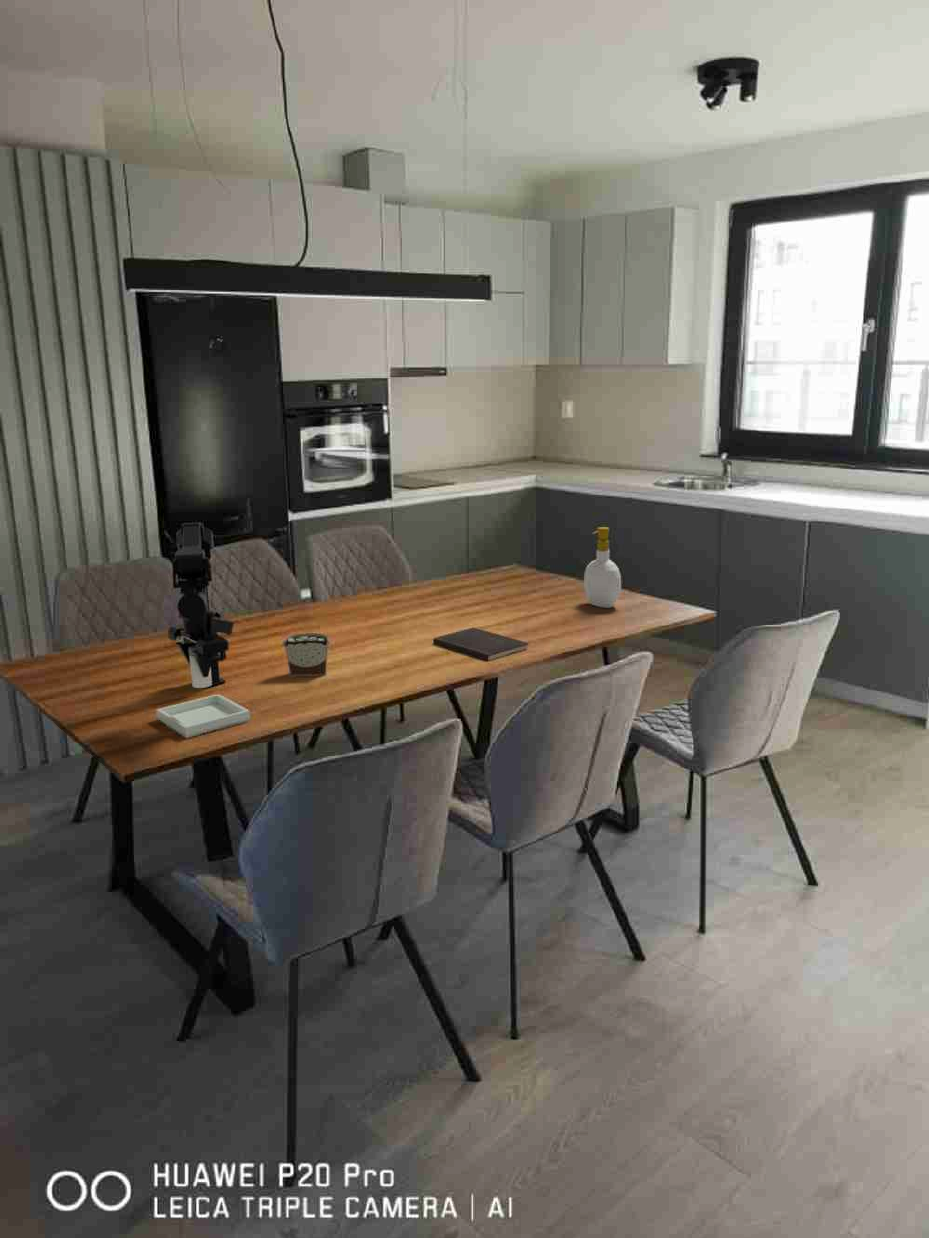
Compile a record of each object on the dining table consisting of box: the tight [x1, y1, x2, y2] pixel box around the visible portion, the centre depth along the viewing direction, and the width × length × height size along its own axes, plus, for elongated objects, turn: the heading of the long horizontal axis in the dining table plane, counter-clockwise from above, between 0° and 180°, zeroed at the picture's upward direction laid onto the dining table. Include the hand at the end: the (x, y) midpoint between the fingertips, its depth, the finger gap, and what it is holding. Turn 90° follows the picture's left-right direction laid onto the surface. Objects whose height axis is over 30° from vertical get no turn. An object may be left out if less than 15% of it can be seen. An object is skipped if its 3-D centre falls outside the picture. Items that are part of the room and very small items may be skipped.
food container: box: [282, 632, 331, 677], centre depth 255 cm, size 12×6×10 cm, turn 92°
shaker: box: [188, 645, 212, 689], centre depth 220 cm, size 5×5×9 cm
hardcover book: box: [432, 627, 530, 662], centre depth 276 cm, size 16×23×2 cm
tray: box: [156, 693, 251, 739], centre depth 223 cm, size 16×16×2 cm
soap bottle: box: [583, 526, 622, 609], centre depth 314 cm, size 14×9×26 cm, turn 40°
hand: (201, 674), depth 221 cm, fingers closed on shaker, 4 cm apart
